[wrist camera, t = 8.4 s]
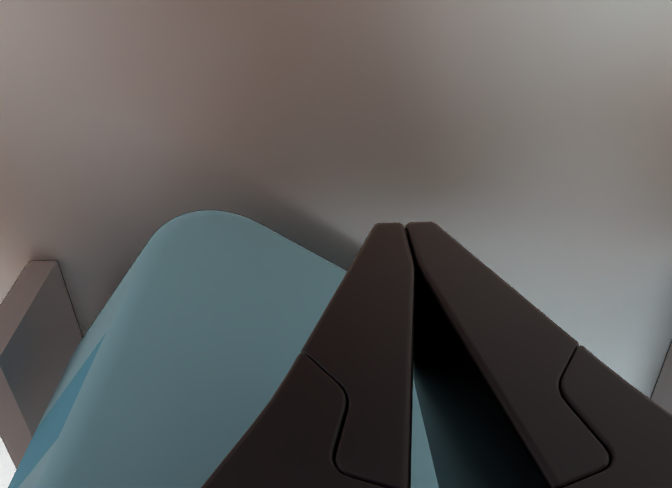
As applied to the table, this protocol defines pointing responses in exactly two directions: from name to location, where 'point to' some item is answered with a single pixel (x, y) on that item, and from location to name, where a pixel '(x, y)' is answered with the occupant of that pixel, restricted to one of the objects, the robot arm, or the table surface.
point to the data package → (187, 360)
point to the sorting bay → (59, 345)
